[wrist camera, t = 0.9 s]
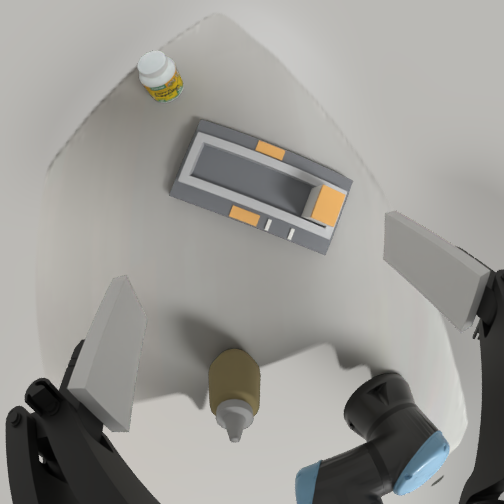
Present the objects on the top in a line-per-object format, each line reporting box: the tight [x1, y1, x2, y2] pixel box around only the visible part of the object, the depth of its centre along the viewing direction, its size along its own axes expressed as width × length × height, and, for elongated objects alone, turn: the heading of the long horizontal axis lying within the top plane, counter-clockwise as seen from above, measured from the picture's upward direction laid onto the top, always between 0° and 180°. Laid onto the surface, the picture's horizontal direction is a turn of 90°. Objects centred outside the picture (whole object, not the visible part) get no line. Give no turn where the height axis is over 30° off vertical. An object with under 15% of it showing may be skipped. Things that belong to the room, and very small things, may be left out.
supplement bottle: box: [137, 51, 183, 103], centre depth 31 cm, size 5×5×10 cm
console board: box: [169, 119, 353, 255], centre depth 37 cm, size 24×12×4 cm, turn 69°
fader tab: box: [301, 184, 345, 227], centre depth 35 cm, size 3×4×5 cm
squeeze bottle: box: [209, 349, 260, 442], centre depth 34 cm, size 8×8×18 cm
